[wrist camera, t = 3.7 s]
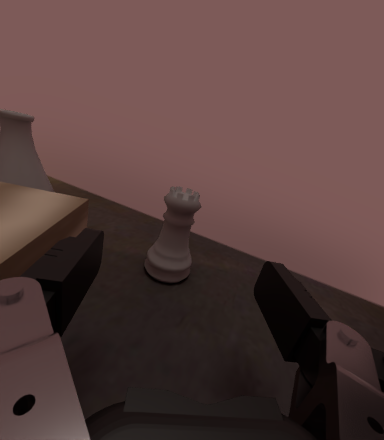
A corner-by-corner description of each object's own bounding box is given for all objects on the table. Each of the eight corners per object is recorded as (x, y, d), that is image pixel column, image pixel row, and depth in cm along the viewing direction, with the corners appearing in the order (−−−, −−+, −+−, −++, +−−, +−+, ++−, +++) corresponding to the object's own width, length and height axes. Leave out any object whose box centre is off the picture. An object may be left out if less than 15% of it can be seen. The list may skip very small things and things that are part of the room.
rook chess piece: (133, 269, 19) (147, 184, 16) (161, 252, 23) (176, 181, 20) (173, 293, 17) (196, 204, 15) (196, 270, 21) (219, 196, 18)
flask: (24, 210, 24) (19, 117, 21) (-37, 195, 24) (-53, 98, 20) (65, 195, 31) (66, 123, 27) (17, 183, 31) (12, 109, 27)
